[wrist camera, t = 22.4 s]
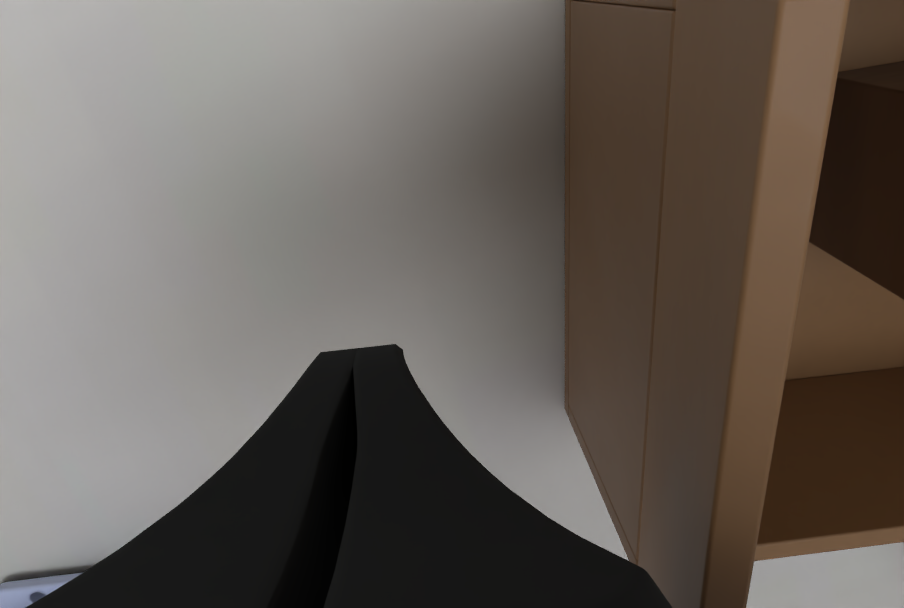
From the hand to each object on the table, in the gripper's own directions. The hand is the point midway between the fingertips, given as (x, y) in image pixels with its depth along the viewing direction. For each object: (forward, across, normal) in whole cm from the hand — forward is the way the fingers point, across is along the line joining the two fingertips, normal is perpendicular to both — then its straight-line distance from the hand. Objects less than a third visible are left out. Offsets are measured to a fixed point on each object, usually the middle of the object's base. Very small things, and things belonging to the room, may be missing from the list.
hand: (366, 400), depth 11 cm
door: (-3, -5, 0) cm, 5 cm away
